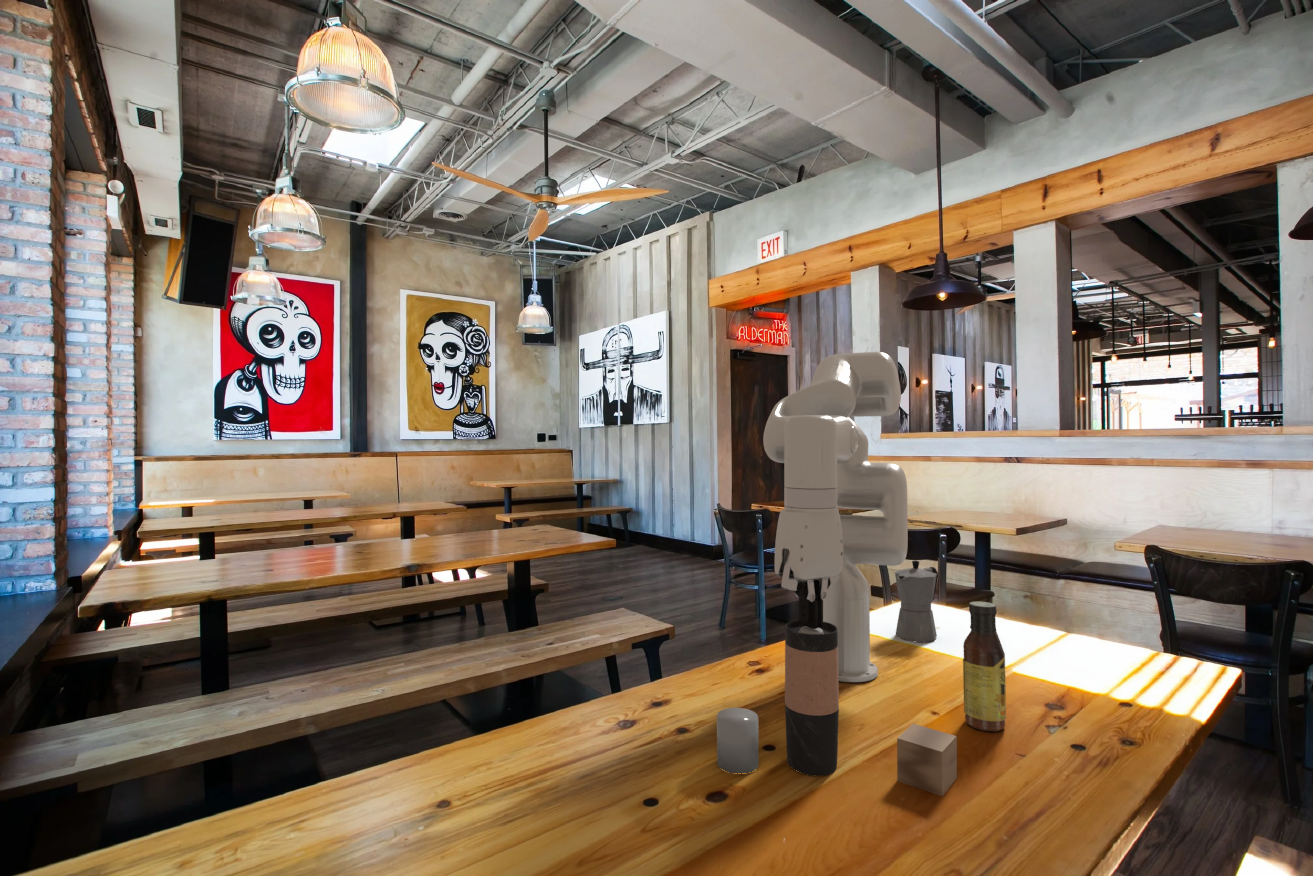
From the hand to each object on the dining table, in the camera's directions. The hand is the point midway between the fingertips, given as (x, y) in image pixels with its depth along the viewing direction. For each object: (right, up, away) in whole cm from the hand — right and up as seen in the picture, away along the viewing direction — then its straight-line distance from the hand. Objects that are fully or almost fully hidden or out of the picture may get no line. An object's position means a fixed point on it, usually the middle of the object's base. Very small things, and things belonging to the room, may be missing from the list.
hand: (811, 625), depth 95 cm
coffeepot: (+40, -20, +60) cm, 75 cm away
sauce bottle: (+32, -20, +13) cm, 40 cm away
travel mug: (0, -20, 0) cm, 20 cm away
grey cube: (+15, -20, -4) cm, 26 cm away
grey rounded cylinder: (-11, -20, 0) cm, 23 cm away
